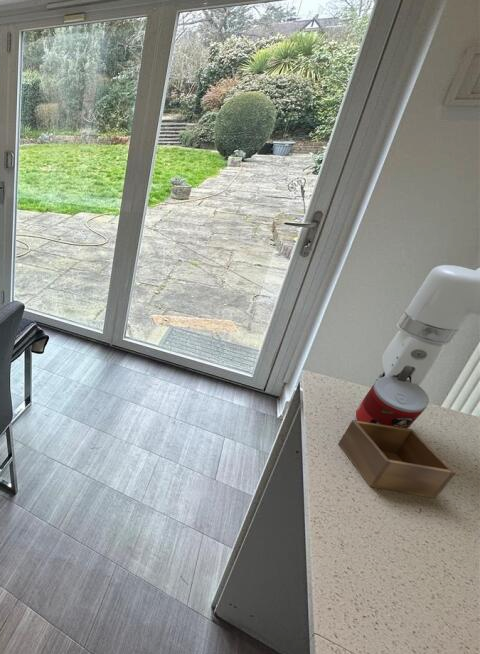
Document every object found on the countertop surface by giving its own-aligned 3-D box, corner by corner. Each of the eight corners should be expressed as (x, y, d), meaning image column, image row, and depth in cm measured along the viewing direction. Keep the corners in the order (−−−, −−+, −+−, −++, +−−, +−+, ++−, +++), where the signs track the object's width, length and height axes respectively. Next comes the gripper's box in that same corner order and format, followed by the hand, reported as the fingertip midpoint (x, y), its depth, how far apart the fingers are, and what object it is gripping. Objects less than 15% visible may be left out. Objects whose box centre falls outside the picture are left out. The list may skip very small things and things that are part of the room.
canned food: (364, 438, 84) (386, 409, 77) (347, 404, 90) (367, 374, 83) (411, 442, 82) (439, 412, 75) (391, 407, 87) (415, 376, 80)
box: (395, 453, 80) (412, 429, 77) (435, 498, 72) (456, 473, 69) (337, 443, 82) (352, 419, 79) (369, 486, 73) (387, 461, 70)
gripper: (462, 352, 72) (406, 427, 81) (444, 319, 83) (396, 388, 91) (405, 336, 76) (357, 409, 85) (395, 306, 87) (353, 374, 95)
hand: (377, 398), depth 88 cm, fingers closed
